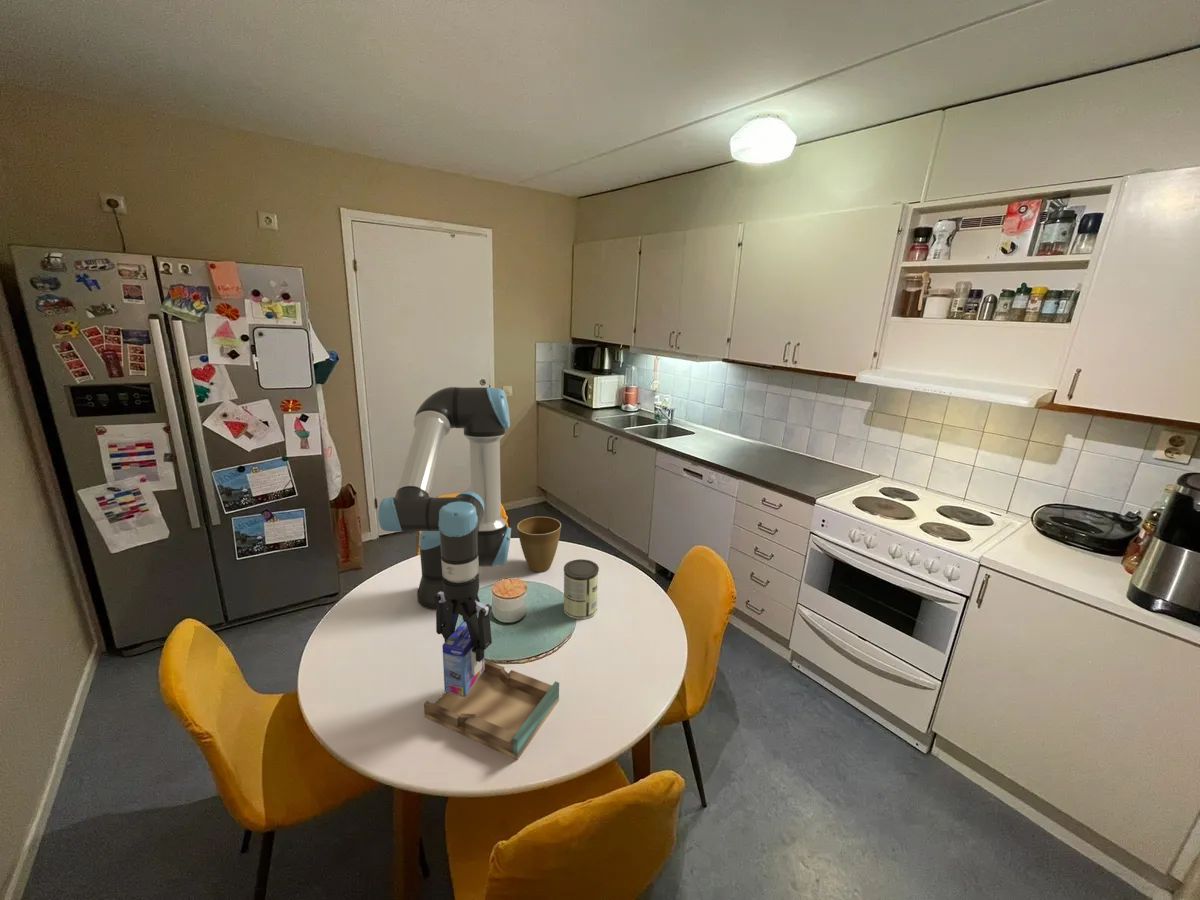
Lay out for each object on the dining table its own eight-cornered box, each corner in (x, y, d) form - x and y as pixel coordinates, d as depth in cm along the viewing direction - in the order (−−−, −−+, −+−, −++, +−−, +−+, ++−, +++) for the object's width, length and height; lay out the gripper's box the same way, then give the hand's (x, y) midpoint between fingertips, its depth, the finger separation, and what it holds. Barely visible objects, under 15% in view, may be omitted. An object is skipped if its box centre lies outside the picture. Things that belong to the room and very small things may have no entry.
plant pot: (564, 558, 175) (564, 517, 171) (555, 579, 161) (556, 536, 156) (524, 554, 177) (523, 514, 172) (512, 575, 162) (511, 532, 158)
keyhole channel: (424, 716, 105) (423, 698, 104) (474, 667, 120) (473, 650, 119) (517, 759, 96) (517, 739, 95) (559, 700, 111) (559, 682, 110)
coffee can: (566, 598, 151) (566, 557, 147) (598, 601, 150) (600, 560, 146) (560, 618, 141) (560, 575, 137) (595, 621, 140) (596, 578, 136)
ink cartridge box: (466, 698, 104) (463, 640, 100) (443, 693, 105) (439, 635, 102) (487, 667, 113) (484, 613, 110) (465, 663, 115) (462, 610, 111)
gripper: (413, 571, 103) (420, 663, 109) (486, 594, 95) (489, 691, 101) (438, 557, 109) (443, 644, 115) (508, 577, 102) (509, 669, 108)
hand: (465, 666), depth 108 cm, fingers closed on ink cartridge box, 6 cm apart
